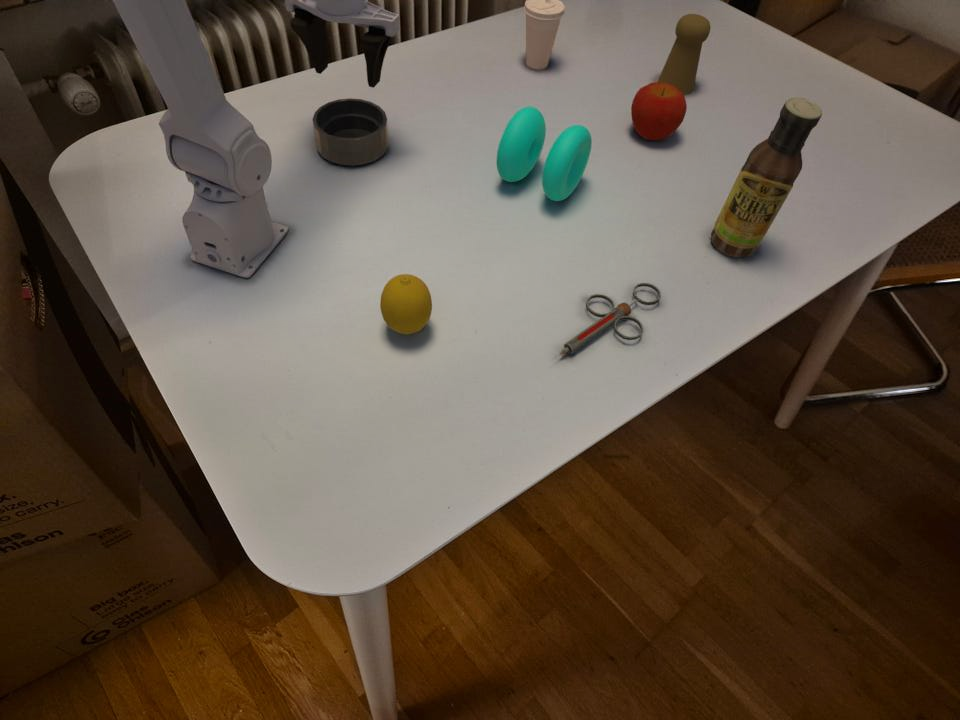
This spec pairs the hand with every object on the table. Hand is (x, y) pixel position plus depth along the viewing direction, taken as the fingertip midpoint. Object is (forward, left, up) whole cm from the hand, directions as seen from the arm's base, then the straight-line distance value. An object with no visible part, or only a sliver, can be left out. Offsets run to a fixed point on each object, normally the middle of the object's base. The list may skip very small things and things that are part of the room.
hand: (348, 76), depth 88 cm
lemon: (-29, -21, -10) cm, 37 cm away
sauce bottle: (+1, -54, -10) cm, 55 cm away
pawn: (+37, -40, -10) cm, 55 cm away
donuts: (+2, -27, -10) cm, 29 cm away
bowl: (-1, 0, -10) cm, 10 cm away
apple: (+21, -39, -10) cm, 46 cm away
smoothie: (+33, -17, -10) cm, 38 cm away
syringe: (-20, -42, -10) cm, 48 cm away
